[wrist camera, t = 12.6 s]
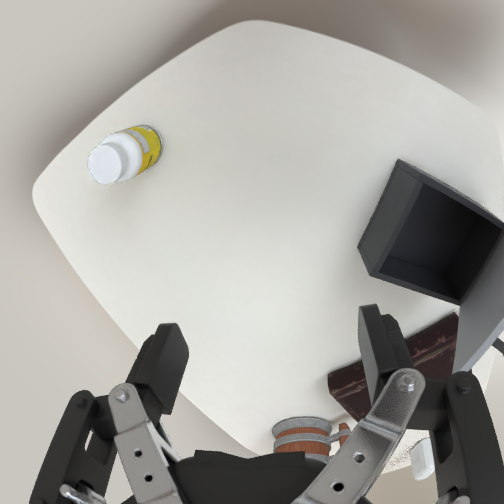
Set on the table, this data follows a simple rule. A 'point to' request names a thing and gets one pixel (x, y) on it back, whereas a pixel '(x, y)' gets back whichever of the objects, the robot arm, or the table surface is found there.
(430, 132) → the table surface
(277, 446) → the mug
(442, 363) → the diary
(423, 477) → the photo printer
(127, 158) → the supplement bottle
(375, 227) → the dark grey open box
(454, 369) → the lid
